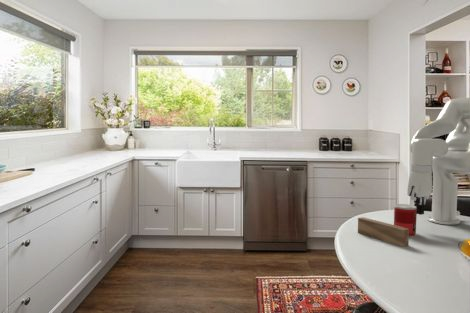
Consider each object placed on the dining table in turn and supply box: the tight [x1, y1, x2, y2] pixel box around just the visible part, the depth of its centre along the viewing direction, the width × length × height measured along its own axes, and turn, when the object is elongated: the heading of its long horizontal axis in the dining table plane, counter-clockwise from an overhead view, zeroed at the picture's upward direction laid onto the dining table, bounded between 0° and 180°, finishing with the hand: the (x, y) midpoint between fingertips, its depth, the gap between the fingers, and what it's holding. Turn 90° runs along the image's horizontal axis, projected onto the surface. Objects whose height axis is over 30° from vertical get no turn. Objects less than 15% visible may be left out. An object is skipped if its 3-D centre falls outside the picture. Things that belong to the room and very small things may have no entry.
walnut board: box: [357, 216, 410, 247], centre depth 137 cm, size 3×20×6 cm, turn 31°
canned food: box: [393, 203, 418, 237], centre depth 144 cm, size 8×8×11 cm
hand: (419, 213), depth 148 cm, fingers closed
